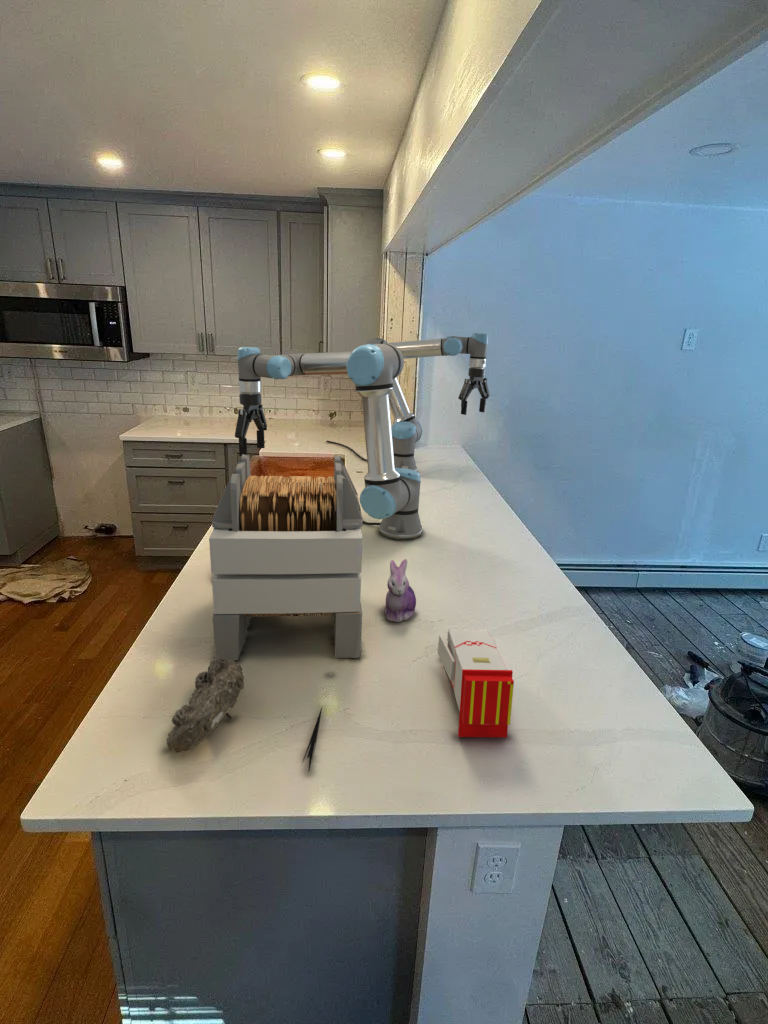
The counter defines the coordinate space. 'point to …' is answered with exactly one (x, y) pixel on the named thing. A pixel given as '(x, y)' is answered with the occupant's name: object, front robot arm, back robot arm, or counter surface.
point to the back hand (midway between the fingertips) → (472, 413)
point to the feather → (313, 740)
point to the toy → (478, 682)
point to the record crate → (286, 555)
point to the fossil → (206, 705)
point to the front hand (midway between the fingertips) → (252, 451)
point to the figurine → (399, 594)
